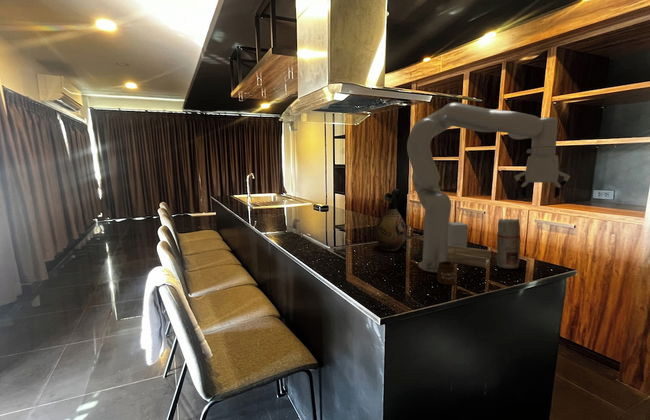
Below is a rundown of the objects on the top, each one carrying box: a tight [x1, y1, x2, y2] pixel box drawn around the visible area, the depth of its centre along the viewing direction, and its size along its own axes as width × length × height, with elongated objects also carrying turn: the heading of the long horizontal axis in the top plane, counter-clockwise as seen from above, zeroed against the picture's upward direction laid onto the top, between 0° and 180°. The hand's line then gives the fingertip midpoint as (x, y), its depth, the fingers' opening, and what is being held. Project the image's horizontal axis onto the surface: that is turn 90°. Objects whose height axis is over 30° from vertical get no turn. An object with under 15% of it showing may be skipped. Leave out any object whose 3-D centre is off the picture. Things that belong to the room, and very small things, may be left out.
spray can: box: [496, 218, 521, 270], centre depth 128 cm, size 8×8×20 cm
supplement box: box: [448, 221, 469, 248], centre depth 157 cm, size 7×7×13 cm
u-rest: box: [447, 245, 492, 269], centre depth 140 cm, size 13×22×4 cm, turn 54°
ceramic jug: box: [374, 188, 408, 252], centre depth 157 cm, size 17×15×30 cm
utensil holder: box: [436, 249, 457, 286], centre depth 113 cm, size 6×6×12 cm
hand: (539, 197), depth 120 cm, fingers open, 9 cm apart
